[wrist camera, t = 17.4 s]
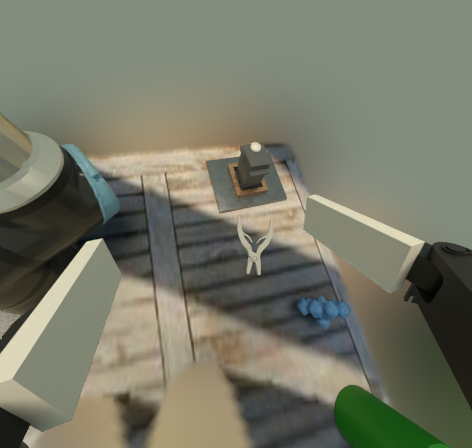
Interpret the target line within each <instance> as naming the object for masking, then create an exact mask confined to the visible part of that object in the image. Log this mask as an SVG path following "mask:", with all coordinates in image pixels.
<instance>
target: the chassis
mask: <svg viewBox="0 0 472 448" xmlns="http://www.w3.org/2000/svg"><path fill="white" fill-rule="evenodd" d="M267 154H268V157H269V159H270V162H271V165H270V167H269V170H270V174H269V175H265V176H264V178H263V180H262V181H261V183H260V185H259V187H258V188H253V189H248V190H241V187H240V184H239V181H238V178H237V175H236V170H237V166H238V162H239V159H240V157H234V158H226V159H219V160H211V161H206V164H207V168H208V171H209V175H210V179H211V183H212V186H213V190H214V194H215V197H216V201H217V205H218V208H219V212H220V213H223V212H228V211H233V210H238V209H243V208H248V207H253V206H258V205H263V204H267V203H272V202H277V201H282V200H286V199H287V197H286V194H285V192H284V189H283V187H282V184H281V181H280V179H279V176H278V174H277V171H276V168H275V166H274V163H273V161H272V158H271V155H270V153H267Z"/></svg>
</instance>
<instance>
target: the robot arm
mask: <svg viewBox="0 0 472 448" xmlns="http://www.w3.org/2000/svg"><path fill="white" fill-rule="evenodd" d="M119 210H120V202H119V200H118V198H117V197H116V195H115V194H114V192H113V191H112V189H111V188H110V187H109V185H108V184H107V183H106V181H105V180H104V179H103V178H102V177H101V175H100V174H99V173H98V171H97V170H96V169H95V167H94V166H93V165H92V164H91V162H90V161H89V160H88V159H87V158H86V156H85V155H84V154H83V153H82V152H81V151H80V150H79V149H78V148H77V147H76V146H75V145H73V144H67V145H60V146H59V145H58V144H57V143H56V142H55V141H54V140H52V139H50V138H49V137H47V136H45V135H43V134H40V133H35V132H29V131H22V130H21V129H19V128H18V127H17V126H16V125H15V124H14V123H12V122H11V121H10V120H9V119H8V118H7V117H5V116H4V115H3V114H2V113H1V112H0V310H1V311H5V312H9V313H13V314H18V315H22V316H21V317H20V318H19V319H18V320H16V321H15V322H14V323H13V324H12V325H11V327H10V328H9V329H8V330H7V331H6V333H5V334H4V335H3V336H2V340H0V448H29V447H28V446H27V445H26V444H25V443H24V442H23V439H24V436H25V434H26V432H27V430H28V428H29V426H30V425H31V426H33V427H34V428H36V429H38V430H40V431H42V432H43V431H45V430H48V429H50V428H53V427H55V426H58V425H60V424H63V423H65V422H68V421H70V420H72V418H73V415H74V412H75V409H76V406H77V403H78V400H79V398H80V395H81V392H82V389H83V386H84V383H85V380H86V377H87V374H88V371H89V369H90V366H91V363H92V360H93V357H94V354H95V351H96V348H97V345H98V343H99V340H100V337H101V334H102V331H103V328H104V325H105V322H106V319H107V317H108V314H109V311H110V308H111V305H112V302H113V299H114V296H115V293H116V291H117V288H118V285H119V282H120V279H121V276H122V275H121V273H120V271H119V269H118V267H117V265H116V263H115V261H114V259H113V257H112V255H111V253H110V252H109V250H108V248H107V246H106V244H105V242H104V240H103V238H102V239H97V240H92V241H87V242H86V243H85V244H84V246H82V245H80V244H78V243H76V242H77V241H79V240H80V239H82V238H83V237H85V236H86V235H88V234H89V233H91V232H92V231H94V230H95V229H97V228H98V227H100V226H101V225H104V224H105V223H106V222H107V220H109V219H110V218H111V217H113V216H114V215H115V214H116V213H118V211H119ZM303 230H305V231H306V232H307V233H309V234H310V235H312V236H313V237H314V238H316V239H317V240H318V241H320V242H321V243H322V244H324V245H325V246H326V247H328V248H329V249H330V250H332V251H333V252H334V253H336V254H337V255H338V256H340V257H341V258H342V259H344V260H345V261H346V262H348V263H349V264H351V265H352V266H353V267H355V268H356V269H358V270H359V271H360V272H361V273H363V274H364V275H366V276H367V277H368V278H369V279H371V280H372V281H373V282H375V283H376V284H378V285H379V286H380V287H381V288H383V289H384V290H386V291H387V292H388V293H391V292H394V291H396V290H399V289H401V288H402V286H403V284H404V282H405V280H406V279H407V280H409V281H410V282H412V284H411V285H410V287H409V289H408V291H407V293H406V295H405V296H404V301H408V300H409V298H410V296H414V298H413V299H412V303H416V304H418V306H419V308H420V310H421V312H422V314H423V316H424V318H425V320H426V322H427V323H428V325H429V327H430V329H431V331H432V333H433V335H434V337H435V339H436V341H437V343H438V345H439V347H440V349H441V351H442V353H443V355H444V357H445V359H446V361H447V362H448V364H449V366H450V368H451V370H452V372H453V374H454V376H455V378H456V380H457V382H458V384H459V386H460V388H461V390H462V392H463V394H464V396H465V398H466V400H467V402H468V403H469V405H470V407H471V409H472V250H470V249H468V248H465V247H462V246H459V245H456V244H452V243H446V242H437V243H434V244H433V245H430V244H428V243H425V242H423V241H421V240H419V239H417V238H414V237H412V236H410V235H407V234H405V233H403V232H401V231H398V230H396V229H394V228H391V227H389V226H387V225H385V224H382V223H380V222H378V221H376V220H373V219H371V218H368V217H366V216H364V215H362V214H359V213H357V212H355V211H353V210H350V209H348V208H346V207H343V206H341V205H339V204H337V203H334V202H332V201H330V200H327V199H325V198H323V197H321V196H318V195H312V196H307V203H306V211H305V220H304V228H303Z"/></svg>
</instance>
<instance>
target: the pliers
mask: <svg viewBox="0 0 472 448" xmlns="http://www.w3.org/2000/svg"><path fill="white" fill-rule="evenodd" d="M237 230H238V235H239V239H240V241H241V243H242V245H243V246H244V247H245V249H246V251H247V254H248V256H249V257H248V260H247V267H246V274H249V273H250V270H251V267H252V263H253V262H254V263H255V268H256V273H257V275H261V263H260V254H261V252H262V251H263V249H265V248H266V247H267V245H268V244H269V242H270V240H271V237H272V234H273V221H272V220H271V221H270V226H269V231H268V234H267V236H264V237H262V238H260V239H259V240H258V241H257V243H258V242H259V241H260V240H261V239H263V238H266V239H265V241H264V242H263V243H262V244H261V245H260V246H259V247H258V249H257V252H256V253H254V252H252V248H251V246H250V245H249V243H248V242H247V241H246V239H245V237H244V236H247V237H248V238H249V240H250V241H251V243H253V242H252V240H251V238H250V237H249V236H248V235H247V234H245V233H244V232H243V231H242V226H241V216H239V218H238V223H237Z"/></svg>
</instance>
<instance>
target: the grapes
mask: <svg viewBox="0 0 472 448" xmlns="http://www.w3.org/2000/svg"><path fill="white" fill-rule="evenodd" d="M296 306H297V308H298V309H299V311H300V312H301V313H302V314H303V315H305V316H306V315H307V314H308V313H311V315H312V316H313V317H315V318H317V319H316V320H317V323H318V324H319V326H321V327H322V328H323V329H324V330H325V329H327V328H328V327H329V326H330V324H331V320H330V318H331V319H332V320H333V319H334V318H335V317H337V316H340V317H341V318H342V319H345V318H346V317H347V316H348V315H349V314H350V312H351V311H350V307H349V306H348V305H347V304H346V303H345V302H344V301H342V300H341V301H340V302H337V301H335V300H334V299H332V300H331V301H329V302H328V301H327V300H326V299H325V298H324V297H323V296H319V297H318V298H317V299H316V300H312V299H310V298H308V299H306V300H305V299H303V298H301V299H300V300H299V301H298V302H297V304H296Z"/></svg>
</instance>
